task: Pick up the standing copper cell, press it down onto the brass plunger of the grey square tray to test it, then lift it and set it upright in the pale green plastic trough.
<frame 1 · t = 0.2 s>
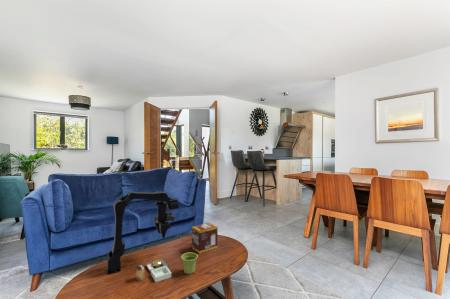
hand: (161, 235, 141), 14 cm above the table, fingers open, 9 cm apart
trough: (160, 275, 121), on the table
brass plunger: (157, 263, 130), point 2 cm above the table, slide at 0.0 cm
plant pot: (189, 271, 125), on the table
grey square tray: (157, 266, 130), on the table
copper cell: (140, 278, 118), on the table
supplement box: (204, 248, 156), on the table
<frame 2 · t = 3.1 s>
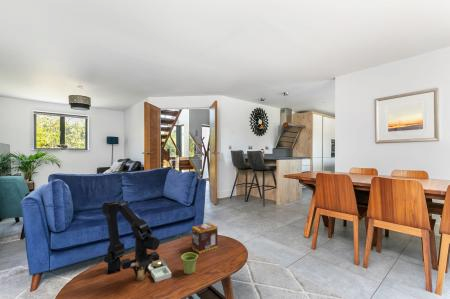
hand: (140, 275, 118), 2 cm above the table, fingers closed on copper cell, 4 cm apart
copper cell: (140, 278, 118), on the table, touching gripper
everything else where it was.
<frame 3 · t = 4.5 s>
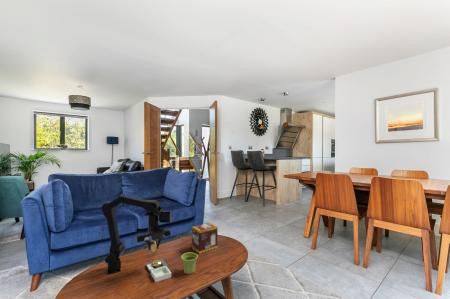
hand: (153, 249, 127), 12 cm above the table, fingers closed on copper cell, 4 cm apart
copper cell: (153, 252, 126), point 10 cm above the table, touching gripper
everything else where it was.
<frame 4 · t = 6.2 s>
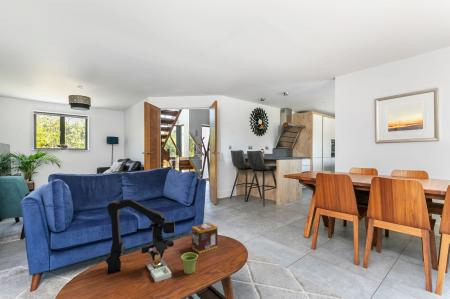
hand: (156, 260, 130), 4 cm above the table, fingers closed on copper cell, 4 cm apart
brass plunger: (157, 264, 130), point 2 cm above the table, slide at 0.5 cm, touching copper cell
copper cell: (157, 262, 130), point 3 cm above the table, touching brass plunger, gripper
everything else where it was.
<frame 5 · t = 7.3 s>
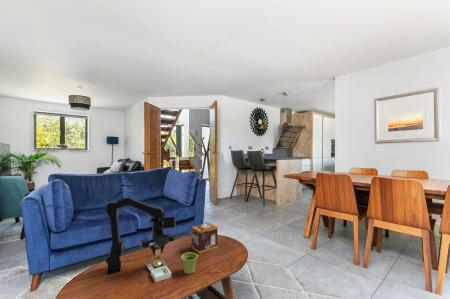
hand: (157, 254, 130), 7 cm above the table, fingers closed on copper cell, 4 cm apart
brass plunger: (157, 263, 130), point 2 cm above the table, slide at 0.3 cm
copper cell: (157, 257, 130), point 6 cm above the table, touching gripper
everything else where it was.
when the fingers open (3 cm above the table, at t = 10.1 s): copper cell drops 1 cm, resting on trough.
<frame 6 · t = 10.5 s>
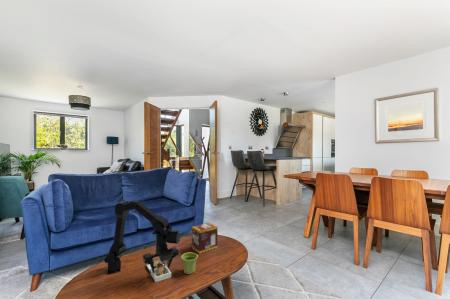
hand: (160, 270, 121), 3 cm above the table, fingers open, 8 cm apart
copper cell: (160, 275, 121), resting on trough
everything else where it was.
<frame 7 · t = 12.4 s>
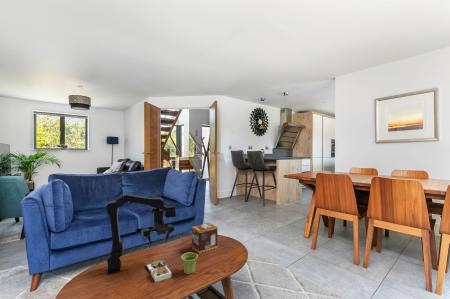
hand: (158, 244, 134), 12 cm above the table, fingers open, 9 cm apart
nothing on the table moved.
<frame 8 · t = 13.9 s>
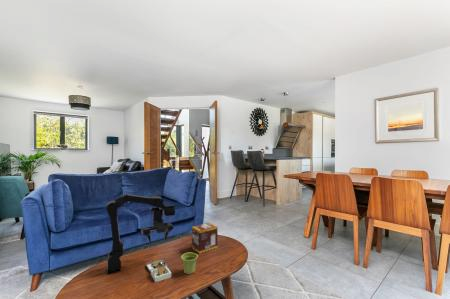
hand: (157, 242, 136), 12 cm above the table, fingers open, 9 cm apart
nothing on the table moved.
at the end: copper cell 0.1 cm off-centre on the trough, point 0.4 cm above the trough's base; copper cell tilted 2°; the gripper is holding nothing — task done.
